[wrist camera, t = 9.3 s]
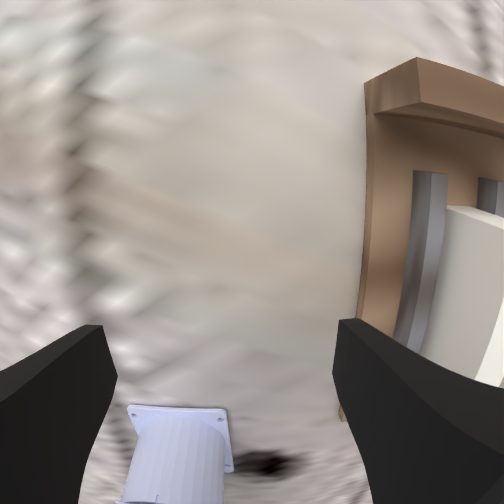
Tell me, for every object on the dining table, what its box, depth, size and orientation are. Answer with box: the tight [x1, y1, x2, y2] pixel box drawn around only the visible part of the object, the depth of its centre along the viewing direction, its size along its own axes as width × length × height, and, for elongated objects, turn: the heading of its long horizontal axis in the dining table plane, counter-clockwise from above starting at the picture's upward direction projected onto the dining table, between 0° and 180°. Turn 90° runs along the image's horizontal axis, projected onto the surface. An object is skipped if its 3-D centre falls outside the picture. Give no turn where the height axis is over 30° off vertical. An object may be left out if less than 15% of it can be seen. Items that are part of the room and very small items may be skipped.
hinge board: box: [339, 57, 504, 422], centre depth 16 cm, size 24×12×6 cm, turn 2°
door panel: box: [419, 205, 504, 387], centre depth 14 cm, size 10×4×7 cm, turn 2°
